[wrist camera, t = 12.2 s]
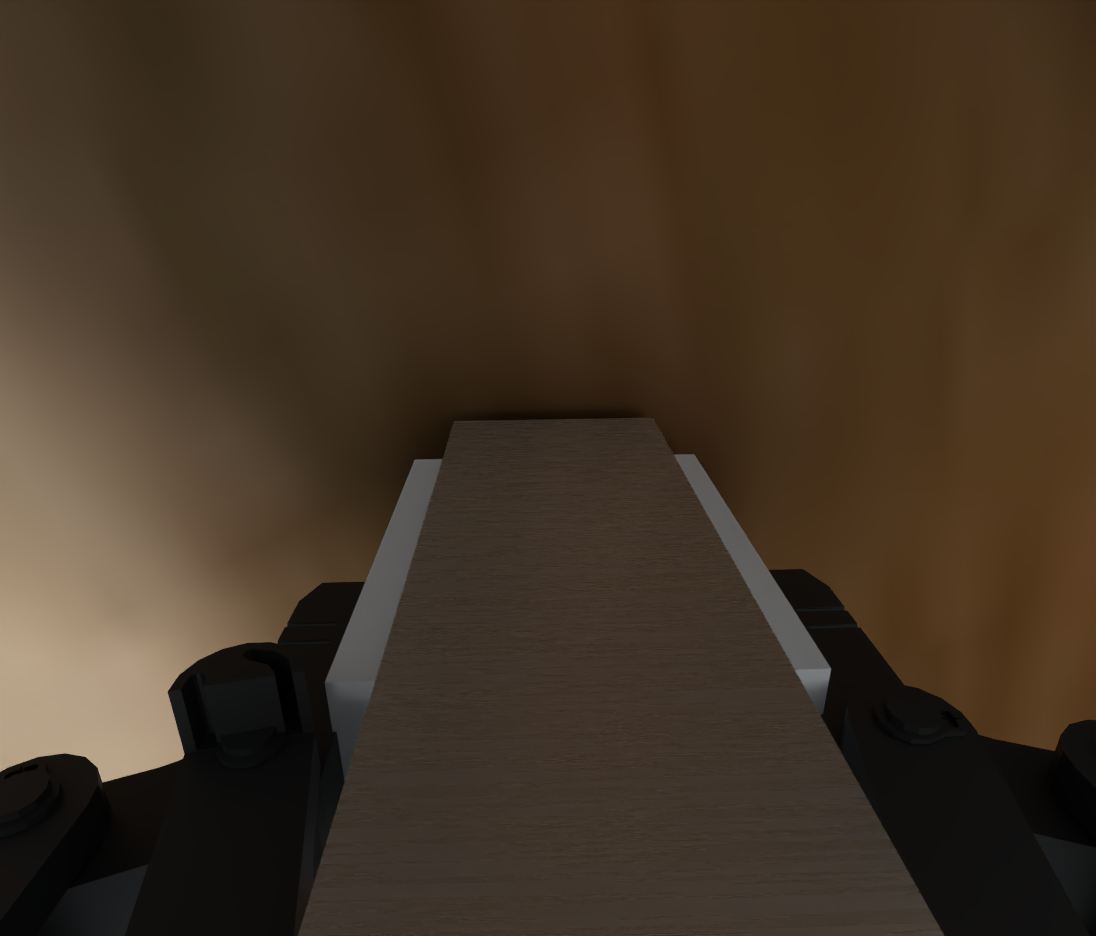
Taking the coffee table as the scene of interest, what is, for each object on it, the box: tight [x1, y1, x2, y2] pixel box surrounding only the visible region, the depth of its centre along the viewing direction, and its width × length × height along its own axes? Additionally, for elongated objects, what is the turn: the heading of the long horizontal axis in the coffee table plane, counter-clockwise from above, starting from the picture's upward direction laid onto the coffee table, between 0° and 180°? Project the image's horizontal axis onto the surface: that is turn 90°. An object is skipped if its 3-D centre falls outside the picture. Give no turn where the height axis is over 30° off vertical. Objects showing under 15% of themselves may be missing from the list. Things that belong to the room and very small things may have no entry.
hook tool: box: [298, 418, 944, 936], centre depth 11 cm, size 13×4×12 cm, turn 0°
